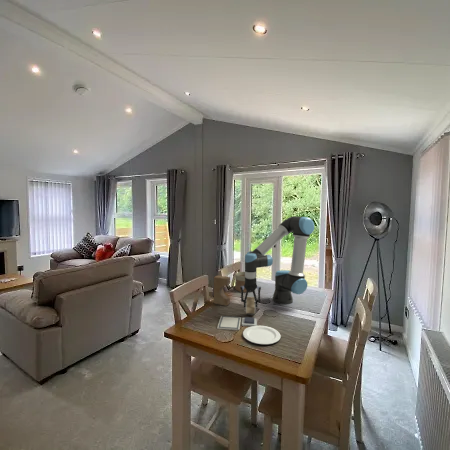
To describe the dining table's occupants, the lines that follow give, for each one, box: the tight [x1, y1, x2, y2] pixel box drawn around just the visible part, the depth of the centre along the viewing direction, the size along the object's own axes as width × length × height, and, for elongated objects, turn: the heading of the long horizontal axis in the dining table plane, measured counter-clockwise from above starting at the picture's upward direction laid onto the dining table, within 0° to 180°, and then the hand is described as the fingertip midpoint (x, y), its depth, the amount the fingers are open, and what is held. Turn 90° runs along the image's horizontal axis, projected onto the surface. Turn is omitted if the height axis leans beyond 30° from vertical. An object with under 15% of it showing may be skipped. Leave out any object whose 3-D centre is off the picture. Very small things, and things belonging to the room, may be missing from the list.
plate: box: [242, 325, 282, 346], centre depth 146 cm, size 21×21×2 cm
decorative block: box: [213, 274, 231, 307], centre depth 192 cm, size 11×6×20 cm, turn 62°
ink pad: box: [241, 316, 258, 327], centre depth 162 cm, size 9×9×2 cm
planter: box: [234, 271, 247, 293], centre depth 224 cm, size 16×16×14 cm
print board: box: [216, 315, 242, 331], centre depth 161 cm, size 13×16×1 cm
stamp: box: [246, 296, 255, 316], centre depth 172 cm, size 5×5×10 cm
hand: (250, 311), depth 172 cm, fingers closed on stamp, 5 cm apart
